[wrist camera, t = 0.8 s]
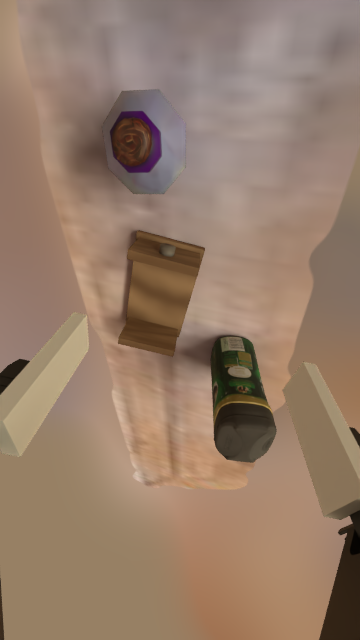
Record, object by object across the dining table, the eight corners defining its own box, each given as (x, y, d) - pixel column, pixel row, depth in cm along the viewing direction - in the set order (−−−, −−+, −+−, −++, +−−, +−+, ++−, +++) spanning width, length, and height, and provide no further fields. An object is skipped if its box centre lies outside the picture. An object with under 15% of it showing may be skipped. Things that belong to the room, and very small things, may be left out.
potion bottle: (174, 86, 24) (154, 29, 15) (202, 173, 29) (201, 176, 19) (108, 128, 27) (53, 104, 17) (143, 203, 31) (114, 219, 21)
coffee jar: (246, 372, 47) (267, 471, 32) (208, 368, 47) (210, 464, 32) (257, 335, 42) (288, 433, 26) (214, 331, 42) (220, 425, 27)
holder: (139, 227, 33) (124, 240, 27) (205, 245, 33) (205, 261, 27) (127, 322, 43) (114, 347, 37) (178, 334, 43) (174, 361, 37)
